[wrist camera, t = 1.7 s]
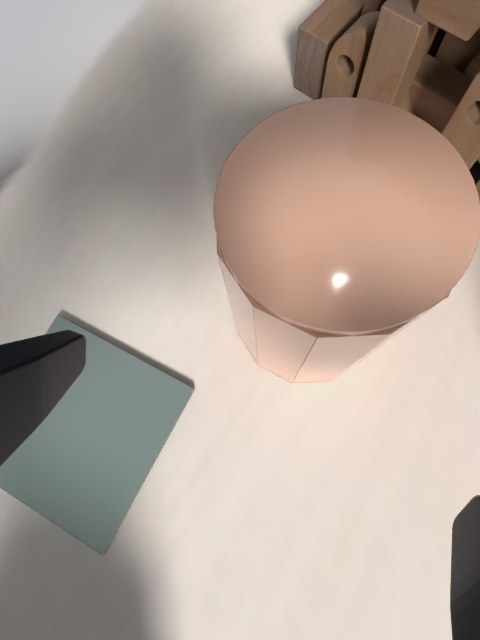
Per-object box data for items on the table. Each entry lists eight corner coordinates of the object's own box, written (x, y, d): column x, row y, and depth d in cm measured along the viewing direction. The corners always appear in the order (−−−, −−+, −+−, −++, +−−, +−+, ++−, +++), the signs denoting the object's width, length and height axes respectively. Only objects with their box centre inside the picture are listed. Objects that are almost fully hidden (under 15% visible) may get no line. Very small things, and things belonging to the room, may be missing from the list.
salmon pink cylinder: (339, 407, 21) (421, 380, 10) (214, 343, 22) (166, 257, 11) (394, 286, 22) (517, 150, 12) (275, 233, 24) (283, 66, 13)
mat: (105, 552, 20) (101, 554, 19) (-34, 461, 21) (-39, 461, 21) (194, 389, 21) (193, 388, 21) (61, 317, 23) (58, 315, 23)
